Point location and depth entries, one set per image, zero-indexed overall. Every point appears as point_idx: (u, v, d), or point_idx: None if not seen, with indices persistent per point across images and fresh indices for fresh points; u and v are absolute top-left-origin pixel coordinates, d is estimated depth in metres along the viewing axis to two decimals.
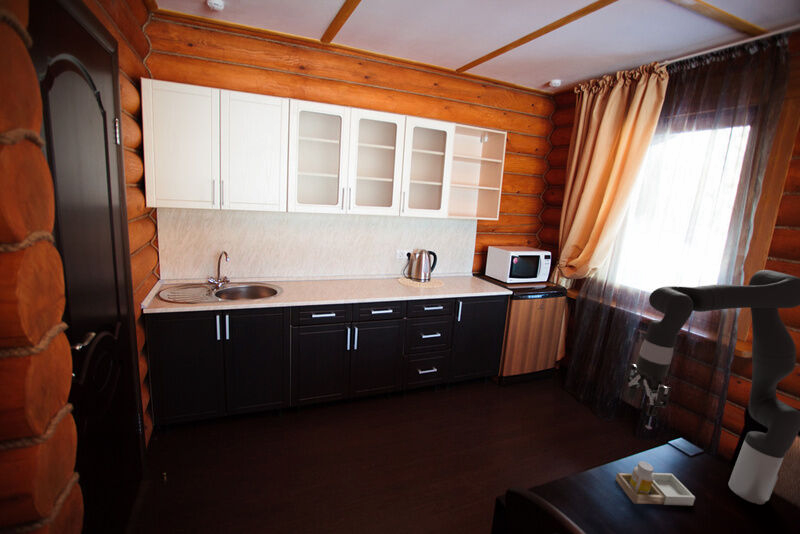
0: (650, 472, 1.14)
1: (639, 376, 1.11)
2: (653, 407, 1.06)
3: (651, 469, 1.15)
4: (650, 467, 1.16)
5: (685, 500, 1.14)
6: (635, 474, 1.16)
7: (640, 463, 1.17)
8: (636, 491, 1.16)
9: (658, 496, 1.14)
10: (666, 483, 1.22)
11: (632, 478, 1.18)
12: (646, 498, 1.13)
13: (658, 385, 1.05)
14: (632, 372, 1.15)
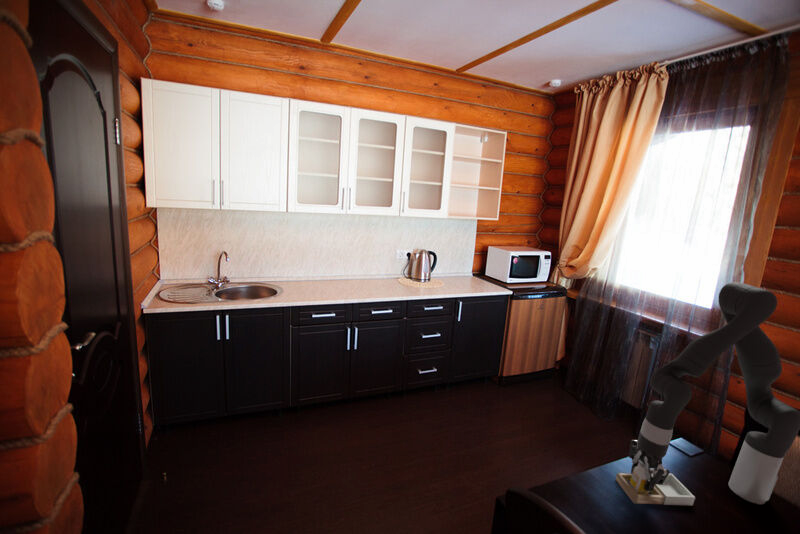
0: None
1: (640, 452, 1.16)
2: (650, 483, 1.13)
3: (651, 469, 1.15)
4: None
5: (685, 500, 1.14)
6: (635, 474, 1.16)
7: (640, 463, 1.17)
8: (636, 491, 1.16)
9: (658, 496, 1.14)
10: (666, 483, 1.22)
11: (632, 478, 1.18)
12: (646, 498, 1.13)
13: (658, 465, 1.11)
14: (634, 448, 1.21)
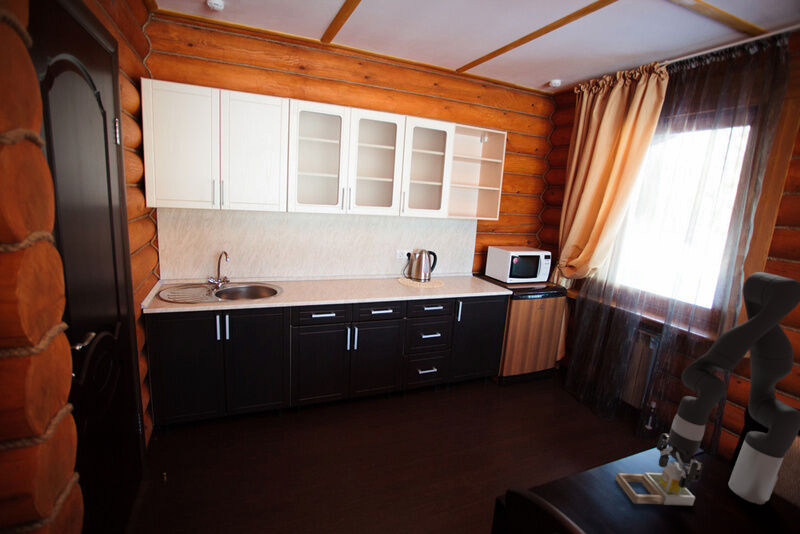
0: (681, 472, 1.15)
1: (671, 448, 1.17)
2: (685, 480, 1.12)
3: None
4: None
5: (685, 500, 1.14)
6: (666, 474, 1.17)
7: (670, 463, 1.17)
8: (666, 491, 1.17)
9: (658, 496, 1.14)
10: None
11: (662, 478, 1.18)
12: (646, 498, 1.13)
13: (691, 460, 1.11)
14: (663, 441, 1.21)
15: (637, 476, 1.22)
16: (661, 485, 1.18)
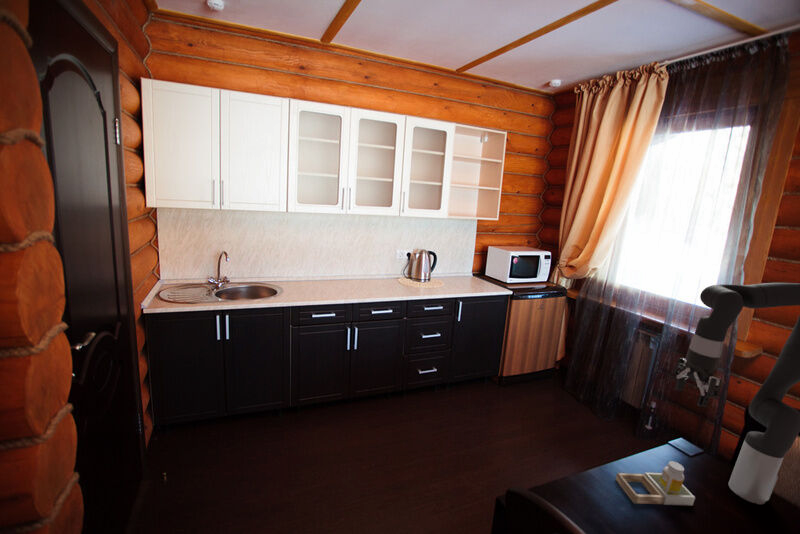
0: (681, 472, 1.15)
1: (689, 369, 1.17)
2: (704, 398, 1.13)
3: (682, 469, 1.15)
4: (680, 467, 1.16)
5: (685, 500, 1.14)
6: (666, 474, 1.17)
7: (670, 463, 1.17)
8: (666, 491, 1.17)
9: (658, 496, 1.14)
10: None
11: (662, 478, 1.18)
12: (646, 498, 1.13)
13: (709, 377, 1.12)
14: (680, 365, 1.22)
15: (637, 476, 1.22)
16: (661, 485, 1.18)
